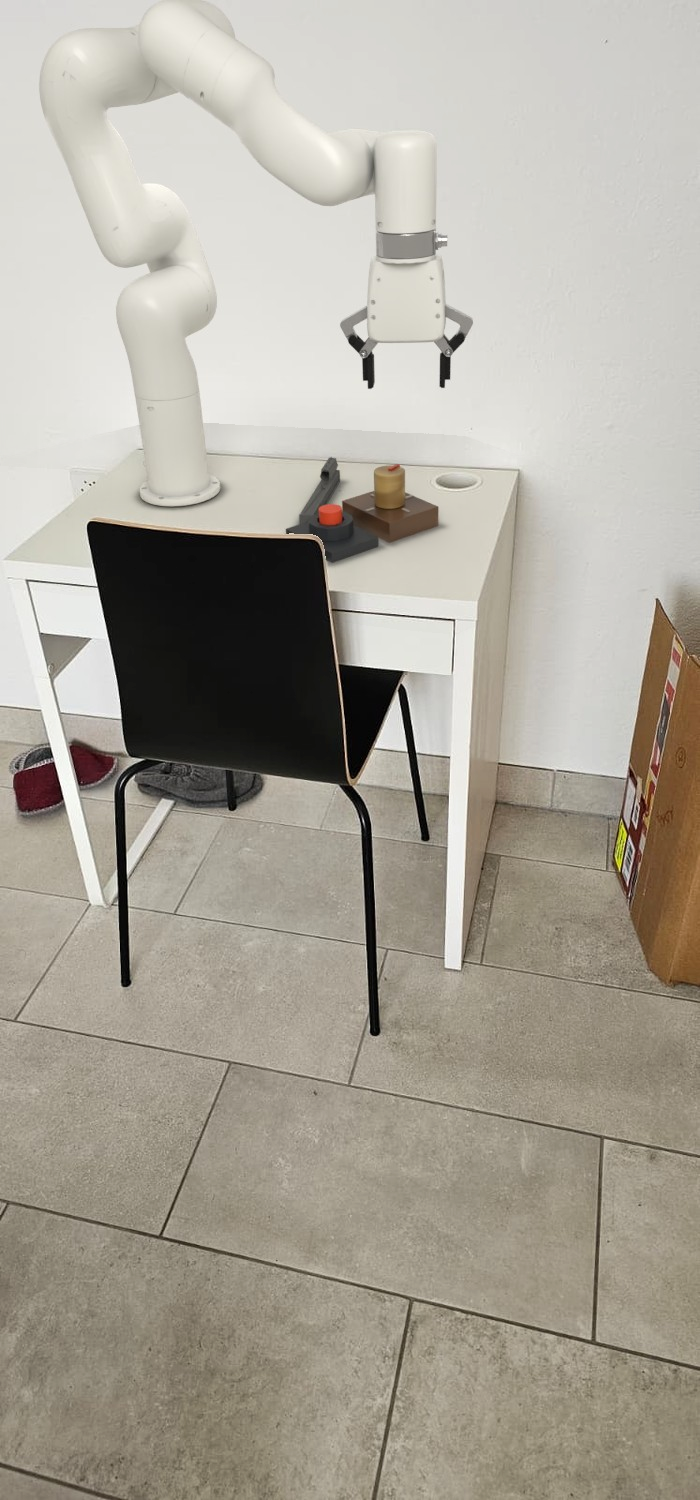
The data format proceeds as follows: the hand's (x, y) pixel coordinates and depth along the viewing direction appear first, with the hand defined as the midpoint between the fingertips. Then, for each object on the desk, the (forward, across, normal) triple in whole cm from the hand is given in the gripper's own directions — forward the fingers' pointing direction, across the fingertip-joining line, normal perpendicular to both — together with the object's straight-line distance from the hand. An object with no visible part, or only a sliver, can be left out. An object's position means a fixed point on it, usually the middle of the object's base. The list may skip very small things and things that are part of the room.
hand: (406, 385), depth 137 cm
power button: (+16, +10, +8) cm, 21 cm away
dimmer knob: (+16, +2, +1) cm, 16 cm away
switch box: (+19, +10, +8) cm, 23 cm away
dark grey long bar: (+19, +13, -6) cm, 24 cm away
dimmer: (+19, +2, +1) cm, 19 cm away
